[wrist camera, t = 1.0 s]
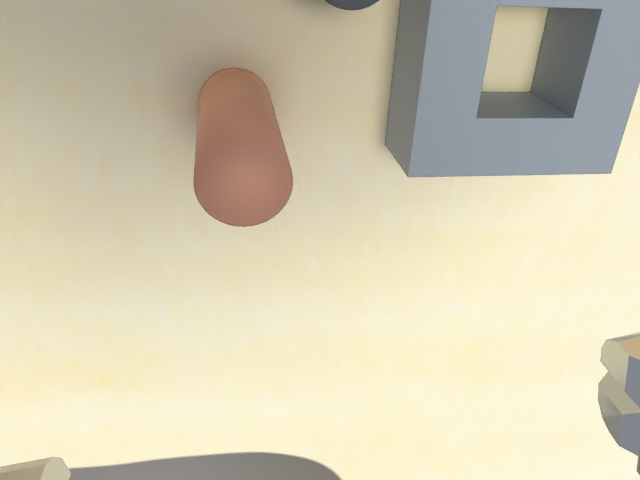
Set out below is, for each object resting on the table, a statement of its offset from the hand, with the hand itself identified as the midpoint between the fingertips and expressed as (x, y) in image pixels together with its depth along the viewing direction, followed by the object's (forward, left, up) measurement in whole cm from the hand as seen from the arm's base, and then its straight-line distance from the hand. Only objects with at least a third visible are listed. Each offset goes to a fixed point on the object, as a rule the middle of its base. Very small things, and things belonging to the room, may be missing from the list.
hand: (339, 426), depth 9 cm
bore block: (+14, 0, -27) cm, 30 cm away
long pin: (-1, -3, -27) cm, 27 cm away
